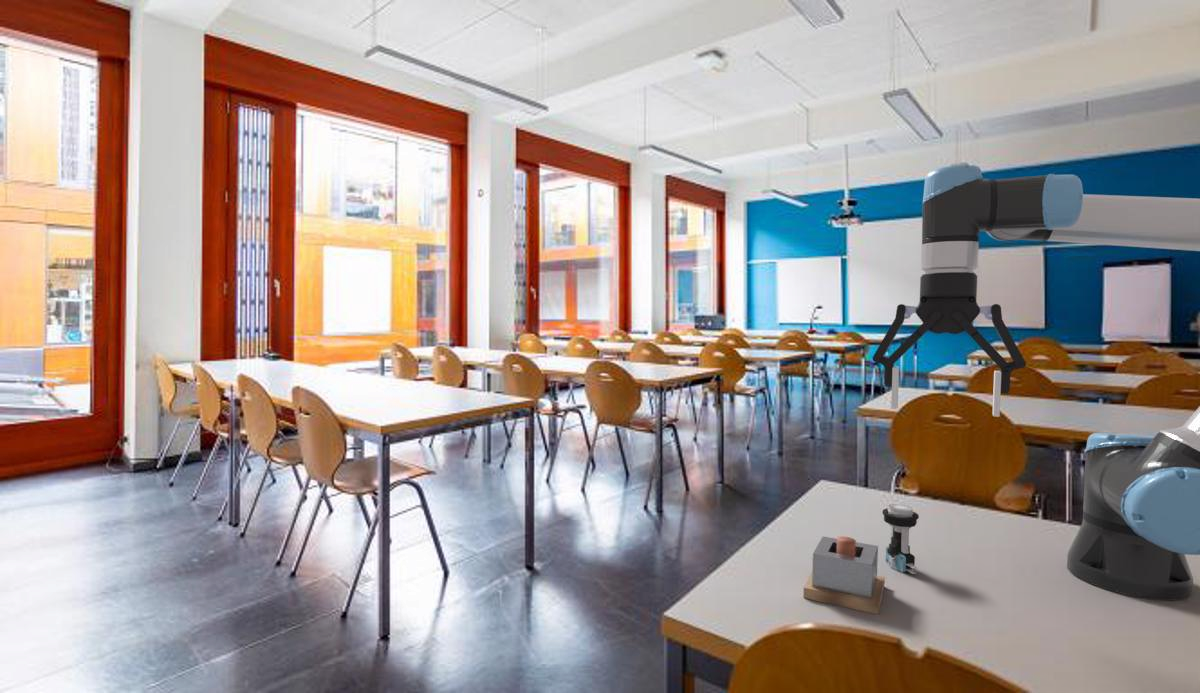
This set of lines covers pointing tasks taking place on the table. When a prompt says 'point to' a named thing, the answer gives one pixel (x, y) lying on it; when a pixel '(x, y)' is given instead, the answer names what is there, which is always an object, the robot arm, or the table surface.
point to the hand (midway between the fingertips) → (943, 411)
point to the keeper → (869, 605)
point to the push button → (900, 536)
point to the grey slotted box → (845, 568)
